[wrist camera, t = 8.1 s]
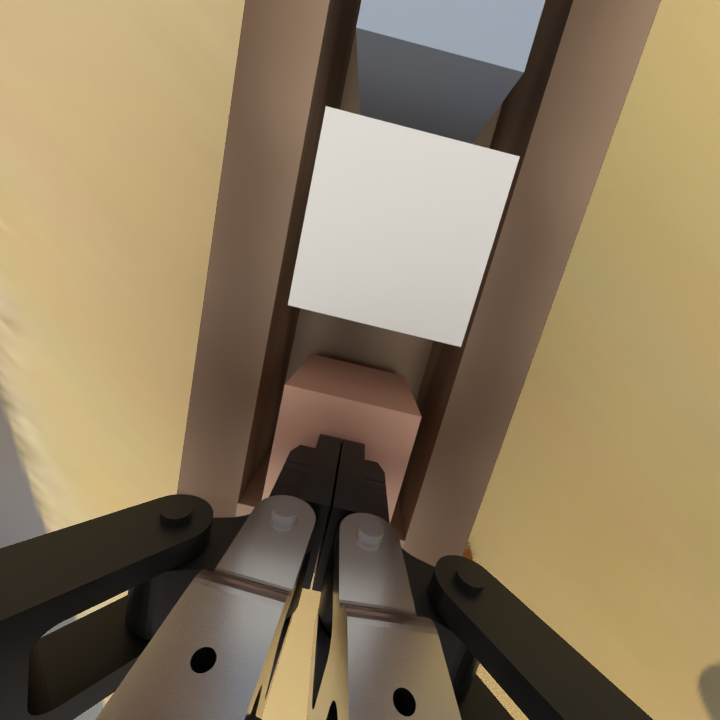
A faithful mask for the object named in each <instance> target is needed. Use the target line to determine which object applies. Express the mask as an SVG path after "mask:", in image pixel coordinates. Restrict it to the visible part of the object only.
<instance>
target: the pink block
mask: <svg viewBox="0 0 720 720" xmlns="http://www.w3.org/2000/svg"><path fill="white" fill-rule="evenodd" d="M421 418H422V416H421V414H420V411H419V409H418V407H417V404H416V402H415V399H414V397H413V394H412V392H411V390H410V387H409V385H408V382H407V380H406V378H405V376H403V375H398V374H394V373H390V372H386V371H382V370H377V369H373V368H369V367H365V366H361V365H357V364H352V363H348V362H344V361H340V360H336V359H331V358H327V357H323V356H319V355H315V354H310V356H309V357H308V358H307V359H306V360H305V361H304V363H303V364H302V365H301V366H300V367H299V368H298V370H297V371H296V372H295V373H294V374H293V375H292V377H291V378H290V379H289V380H288V381H287V383H286V384H285V386H284V391H283V396H282V401H281V406H280V411H279V416H278V421H277V426H276V431H275V436H274V441H273V446H272V451H271V456H270V461H269V466H268V471H267V476H266V481H265V486H264V491H263V496H262V500H263V499H265V498H268V497H269V496H270V493H271V491H272V489H273V487H274V485H275V483H276V481H277V478H278V476H279V474H280V472H281V470H282V468H283V466H284V464H285V462H286V459H287V457H288V455H289V453H290V451H291V450H293V449H294V448H296V447H298V446H299V445H304V446H308V447H313V448H316V445H317V442H318V439H319V436H320V434H324V435H328V436H332V437H337V438H341V445H342V441H343V439H346V440H350V441H354V442H359V443H363V444H365V460H369V461H374V462H378V464H379V465H380V466H381V468H382V469H383V471H384V472H385V480H386V484H385V485H386V491H387V492H386V494H387V501H388V512H389V522H391V519H392V515H393V512H394V509H395V505H396V502H397V499H398V495H399V492H400V488H401V485H402V482H403V478H404V475H405V472H406V468H407V465H408V461H409V458H410V455H411V451H412V448H413V445H414V441H415V438H416V435H417V431H418V428H419V424H420V421H421ZM341 445H340V449H341ZM339 453H340V451H339Z"/></svg>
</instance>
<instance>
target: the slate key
mask: <svg viewBox="0 0 720 720" xmlns="http://www.w3.org/2000/svg"><path fill="white" fill-rule="evenodd" d="M544 4H545V0H362V1H361V6H360V11H359V16H358V21H357V26H356V36H357V58H358V80H359V102H360V115H362V116H366V117H370V118H373V119H377V120H381V121H385V122H389V123H393V124H397V125H400V126H404V127H408V128H412V129H416V130H420V131H424V132H427V133H431V134H435V135H439V136H443V137H447V138H450V139H454V140H458V141H462V142H466V143H470V144H472V143H473V142H474V141H475V139H476V138H477V136H478V135H479V134H480V132H481V131H482V130H483V128H484V127H485V125H486V124H487V123H488V121H489V120H490V119H491V117H492V116H493V114H494V113H495V112H496V110H497V109H498V108H499V106H500V105H501V103H502V102H503V101H504V99H505V98H506V97H507V95H508V94H509V92H510V91H511V90H512V88H513V87H514V85H515V84H516V83H517V81H518V80H519V79H520V77H521V76H522V74H523V73H524V71H525V68H526V64H527V61H528V57H529V54H530V51H531V47H532V44H533V41H534V37H535V34H536V30H537V27H538V24H539V20H540V17H541V14H542V10H543V7H544Z"/></svg>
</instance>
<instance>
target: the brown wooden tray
mask: <svg viewBox="0 0 720 720" xmlns="http://www.w3.org/2000/svg"><path fill="white" fill-rule="evenodd" d="M361 1H362V0H245V6H244V13H243V20H242V28H241V35H240V42H239V49H238V57H237V64H236V71H235V78H234V85H233V93H232V100H231V107H230V114H229V122H228V129H227V136H226V143H225V150H224V158H223V165H222V172H221V179H220V187H219V194H218V201H217V208H216V215H215V223H214V230H213V237H212V244H211V251H210V259H209V266H208V273H207V280H206V288H205V295H204V302H203V309H202V316H201V324H200V331H199V338H198V345H197V353H196V360H195V367H194V374H193V381H192V389H191V396H190V403H189V410H188V417H187V425H186V432H185V439H184V446H183V454H182V461H181V468H180V475H179V482H178V490H177V494H187V495H193V496H197V497H200V498H202V499H204V500H206V501H207V502H208V503H209V504H210V505H211V507H212V509H213V514H214V515H213V518H220V517H239V516H244V515H248V514H251V512H252V511H253V509H254V508H255V506H256V505H257V504H258V503H259V502H260V501H261V500H262V496H263V491H264V486H265V481H266V476H267V471H268V466H269V461H270V456H271V451H272V446H273V441H274V436H275V431H276V426H277V421H278V416H279V411H280V406H281V401H282V396H283V391H284V386H285V384H286V383H287V381H288V380H289V379H290V378H291V377H292V375H293V374H294V373H295V372H296V371H297V370H298V368H299V367H300V366H301V365H302V364H303V363H304V361H305V360H306V359H307V358H308V357H309V356H310V354H315V355H319V356H323V357H327V358H331V359H336V360H340V361H344V362H348V363H352V364H357V365H361V366H365V367H369V368H373V369H377V370H382V371H386V372H390V373H394V374H398V375H403V376H405V378H406V380H407V382H408V385H409V387H410V390H411V392H412V394H413V397H414V399H415V402H416V404H417V407H418V409H419V411H420V414H421V416H422V418H421V421H420V424H419V428H418V431H417V435H416V438H415V441H414V445H413V448H412V451H411V455H410V458H409V461H408V465H407V468H406V472H405V475H404V478H403V482H402V485H401V488H400V492H399V495H398V499H397V502H396V505H395V509H394V512H393V515H392V519H391V522H390V525H391V526H392V527H393V528H394V529H395V530H396V532H397V534H398V536H399V539H400V543H401V547H402V548H403V549H404V550H405V551H406V552H408V553H409V554H410V555H412V556H414V557H416V558H417V559H419V560H422V561H424V562H426V563H428V564H430V565H432V566H434V567H435V566H436V563H437V561H438V560H439V559H440V558H441V557H443V556H446V555H458V556H462V555H463V552H464V549H465V547H466V544H467V541H468V538H469V535H470V533H471V530H472V527H473V524H474V521H475V519H476V516H477V513H478V510H479V507H480V505H481V502H482V499H483V496H484V493H485V491H486V488H487V485H488V482H489V480H490V477H491V474H492V471H493V468H494V466H495V463H496V460H497V457H498V454H499V452H500V449H501V446H502V443H503V440H504V438H505V435H506V432H507V429H508V426H509V424H510V421H511V418H512V415H513V412H514V410H515V407H516V404H517V401H518V398H519V396H520V393H521V390H522V387H523V384H524V382H525V379H526V376H527V373H528V371H529V368H530V365H531V362H532V359H533V357H534V354H535V351H536V348H537V345H538V343H539V340H540V337H541V334H542V331H543V329H544V326H545V323H546V320H547V317H548V315H549V312H550V309H551V306H552V303H553V301H554V298H555V295H556V292H557V289H558V287H559V284H560V281H561V278H562V275H563V273H564V270H565V267H566V264H567V261H568V259H569V256H570V253H571V250H572V248H573V245H574V242H575V239H576V236H577V234H578V231H579V228H580V225H581V222H582V220H583V217H584V214H585V211H586V208H587V206H588V203H589V200H590V197H591V194H592V192H593V189H594V186H595V183H596V180H597V178H598V175H599V172H600V169H601V166H602V164H603V161H604V158H605V155H606V152H607V150H608V147H609V144H610V141H611V138H612V136H613V133H614V130H615V127H616V125H617V122H618V119H619V116H620V113H621V111H622V108H623V105H624V102H625V99H626V97H627V94H628V91H629V88H630V85H631V83H632V80H633V77H634V74H635V71H636V69H637V66H638V63H639V60H640V57H641V55H642V52H643V49H644V46H645V43H646V41H647V38H648V35H649V32H650V29H651V27H652V24H653V21H654V18H655V16H656V13H657V10H658V7H659V4H660V2H661V0H545V4H544V7H543V10H542V14H541V17H540V20H539V24H538V27H537V30H536V34H535V37H534V41H533V44H532V47H531V51H530V54H529V57H528V61H527V64H526V68H525V71H524V73H523V74H522V76H521V77H520V79H519V80H518V81H517V83H516V84H515V85H514V87H513V88H512V90H511V91H510V92H509V94H508V95H507V97H506V98H505V99H504V101H503V102H502V103H501V105H500V106H499V108H498V109H497V110H496V112H495V113H494V114H493V116H492V117H491V119H490V120H489V121H488V123H487V124H486V125H485V127H484V128H483V130H482V131H481V132H480V134H479V135H478V136H477V138H476V139H475V141H474V142H473V143H472V144H474V145H477V146H481V147H485V148H489V149H493V150H497V151H501V152H504V153H508V154H512V155H516V156H520V158H519V161H518V164H517V167H516V171H515V174H514V177H513V180H512V184H511V187H510V190H509V193H508V197H507V200H506V203H505V206H504V210H503V213H502V216H501V219H500V222H499V226H498V229H497V232H496V235H495V239H494V242H493V245H492V248H491V252H490V255H489V258H488V261H487V265H486V268H485V271H484V274H483V278H482V281H481V284H480V287H479V290H478V294H477V297H476V300H475V303H474V307H473V310H472V313H471V316H470V320H469V323H468V326H467V329H466V333H465V336H464V339H463V342H462V346H461V347H459V346H454V345H450V344H446V343H442V342H438V341H434V340H430V339H426V338H421V337H417V336H413V335H409V334H405V333H401V332H397V331H393V330H388V329H384V328H380V327H376V326H372V325H368V324H364V323H360V322H355V321H351V320H347V319H343V318H339V317H335V316H331V315H327V314H322V313H318V312H314V311H310V310H306V309H302V308H298V307H294V306H289V305H288V301H289V296H290V290H291V285H292V280H293V275H294V270H295V264H296V259H297V254H298V249H299V243H300V238H301V233H302V228H303V223H304V217H305V212H306V207H307V202H308V197H309V191H310V186H311V181H312V176H313V170H314V165H315V160H316V155H317V150H318V144H319V139H320V134H321V129H322V124H323V118H324V113H325V108H326V106H327V107H331V108H335V109H339V110H343V111H347V112H350V113H354V114H358V115H360V102H359V80H358V58H357V36H356V26H357V21H358V16H359V11H360V6H361ZM318 555H319V553H318ZM317 560H318V557H317ZM316 566H317V561H316V565H315V569H314V573H315V571H316Z"/></svg>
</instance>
